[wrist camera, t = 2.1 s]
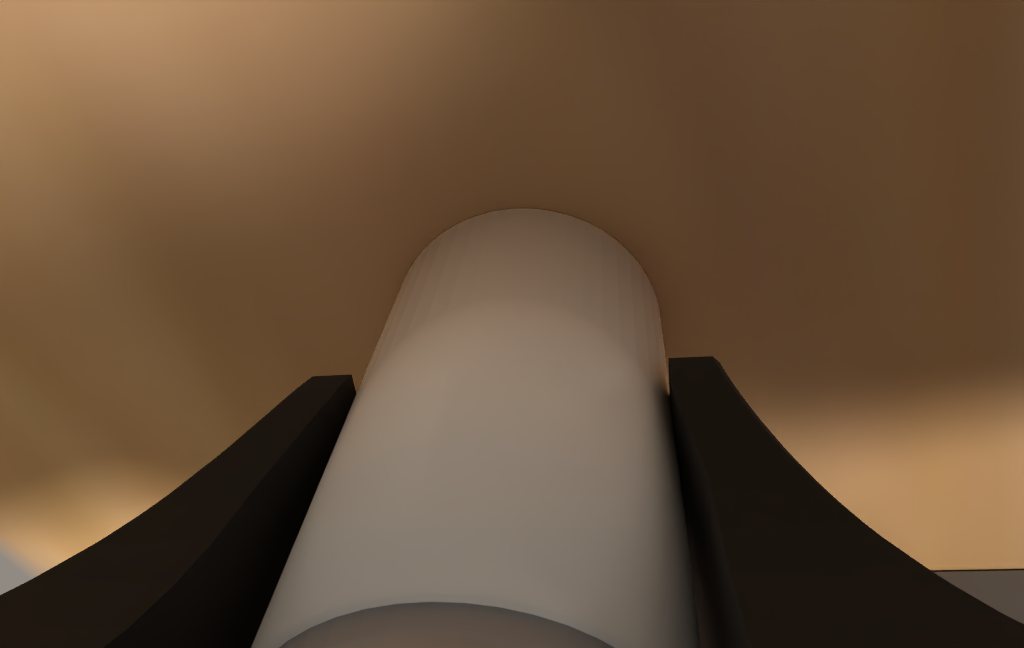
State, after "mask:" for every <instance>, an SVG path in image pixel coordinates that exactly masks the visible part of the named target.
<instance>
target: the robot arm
mask: <svg viewBox="0 0 1024 648" xmlns="http://www.w3.org/2000/svg"><path fill="white" fill-rule="evenodd" d="M669 391H670V403H671V411H672V420H673V428H674V436H675V443H676V448H677V456H678V464H679V472H680V480H681V488H682V496H683V504H684V513H685V521H686V529H687V537H688V545H689V553H690V561H691V569H692V577H693V585H694V594H695V602H696V610H697V618H698V626H699V634H700V641H701V646H702V648H1024V624H1023V623H1021V622H1019V621H1017V620H1015V619H1013V618H1010V617H1008V616H1007V615H1005V614H1003V613H1001V612H999V611H997V610H996V609H994V608H992V607H990V606H989V605H987V604H985V603H984V602H982V601H980V600H978V599H977V598H975V597H973V596H972V595H970V594H968V593H966V592H965V591H963V590H961V589H960V588H958V587H956V586H954V585H953V584H951V583H950V582H948V581H946V580H945V579H943V578H942V577H940V576H938V575H937V574H935V573H934V572H932V571H931V570H929V569H927V568H926V567H924V566H923V565H922V564H920V563H919V562H917V561H916V560H914V559H913V558H912V557H910V556H909V555H907V554H906V553H904V552H903V551H901V550H900V549H899V548H897V547H896V546H894V545H893V544H891V543H890V542H888V541H887V540H886V539H884V538H883V537H881V536H880V535H879V534H877V533H876V532H875V531H874V530H872V529H871V528H870V527H868V526H867V525H866V524H865V523H863V522H862V521H861V520H860V519H859V518H857V517H856V516H855V515H854V514H853V513H852V512H850V511H849V510H848V509H847V508H846V507H844V506H843V505H842V504H841V503H840V502H839V501H838V500H836V499H835V498H834V497H833V496H832V495H831V494H830V493H829V492H828V491H827V490H826V489H825V488H823V487H822V486H821V485H820V484H819V483H818V482H817V481H816V480H815V479H814V478H813V477H812V476H811V475H810V474H809V473H808V472H807V471H806V470H805V469H804V468H803V467H802V466H801V465H800V464H799V463H798V462H797V461H796V460H795V459H794V458H793V456H792V455H791V454H790V453H789V452H788V451H787V450H786V449H785V448H784V447H783V446H782V444H781V443H780V442H779V441H778V440H777V439H776V437H775V436H774V435H773V434H772V433H771V432H770V430H769V429H768V428H767V427H766V426H765V425H764V423H763V422H762V421H761V420H760V419H759V417H758V416H757V415H756V414H755V412H754V411H753V410H752V409H751V407H750V406H749V405H748V403H747V402H746V401H745V399H744V398H743V397H742V395H741V394H740V393H739V391H738V390H737V389H736V387H735V386H734V384H733V383H732V381H731V380H730V378H729V377H728V375H727V374H726V372H725V371H724V369H723V367H722V366H721V364H720V363H719V362H718V361H717V360H716V359H715V358H714V357H713V356H707V357H688V358H669ZM355 396H356V391H355V387H354V383H353V379H352V375H334V376H314V377H311V378H310V379H309V380H307V381H306V382H305V383H303V384H302V385H301V386H300V387H298V388H297V389H296V390H295V391H294V392H292V393H291V394H290V395H289V396H288V397H286V398H285V399H284V400H283V401H282V402H281V403H280V404H278V405H277V406H276V407H275V408H274V409H273V410H271V411H270V412H269V413H268V414H267V415H266V416H265V417H263V418H262V419H261V420H260V421H259V422H258V423H256V424H255V425H254V426H253V427H252V428H251V429H249V430H248V431H247V432H246V433H245V434H244V435H242V436H241V437H240V438H239V439H238V440H237V441H235V442H234V443H233V444H232V445H231V446H230V447H228V448H227V449H226V450H225V451H224V452H222V453H221V454H220V455H219V456H217V457H216V458H215V459H214V460H212V461H211V462H210V463H209V464H207V465H206V466H205V467H203V468H202V469H201V470H200V471H198V472H197V473H196V474H194V475H193V476H192V477H191V478H189V479H188V480H187V481H185V482H184V483H183V484H182V485H180V486H179V487H178V488H177V489H175V490H174V491H173V492H171V493H170V494H169V495H167V496H166V497H165V498H163V499H162V500H160V501H159V502H158V503H156V504H155V505H153V506H152V507H151V508H149V509H148V510H146V511H145V512H143V513H142V514H140V515H139V516H137V517H136V518H134V519H133V520H131V521H130V522H128V523H127V524H125V525H124V526H122V527H121V528H119V529H118V530H116V531H114V532H113V533H111V534H110V535H108V536H107V537H105V538H103V539H102V540H100V541H99V542H97V543H95V544H94V545H92V546H90V547H88V548H87V549H85V550H83V551H81V552H79V553H78V554H76V555H74V556H72V557H71V558H69V559H67V560H65V561H64V562H62V563H60V564H58V565H56V566H55V567H53V568H51V569H49V570H48V571H46V572H44V573H42V574H41V575H39V576H37V577H35V578H33V579H32V580H30V581H28V582H26V583H24V584H22V585H20V586H18V587H16V588H14V589H12V590H10V591H8V592H6V593H4V594H2V595H0V648H251V646H252V644H253V642H254V639H255V637H256V634H257V632H258V630H259V627H260V625H261V622H262V620H263V618H264V615H265V613H266V610H267V608H268V606H269V603H270V601H271V598H272V596H273V594H274V591H275V589H276V586H277V584H278V582H279V579H280V577H281V574H282V572H283V569H284V567H285V565H286V562H287V560H288V557H289V555H290V553H291V550H292V548H293V545H294V543H295V541H296V538H297V536H298V533H299V531H300V529H301V526H302V524H303V521H304V519H305V517H306V514H307V512H308V509H309V507H310V505H311V502H312V500H313V497H314V495H315V493H316V490H317V488H318V485H319V483H320V480H321V478H322V476H323V473H324V471H325V468H326V466H327V464H328V461H329V459H330V456H331V454H332V452H333V449H334V447H335V444H336V442H337V440H338V437H339V435H340V432H341V430H342V428H343V425H344V423H345V420H346V418H347V416H348V413H349V411H350V408H351V406H352V404H353V401H354V399H355Z"/></svg>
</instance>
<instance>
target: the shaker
mask: <svg viewBox="0 0 1024 648" xmlns="http://www.w3.org/2000/svg"><path fill="white" fill-rule="evenodd" d="M251 648H701V642H700V634H699V626H698V618H697V610H696V602H695V594H694V585H693V577H692V569H691V561H690V553H689V545H688V537H687V529H686V521H685V513H684V504H683V496H682V488H681V480H680V472H679V464H678V456H677V448H676V443H675V436H674V428H673V420H672V411H671V403H670V391H669V383H668V375H667V367H666V359H665V351H664V342H663V334H662V326H661V318H660V310H659V306H658V302H657V298H656V294H655V292H654V289H653V287H652V285H651V283H650V280H649V278H648V277H647V275H646V273H645V272H644V270H643V269H642V267H641V265H640V264H639V263H638V262H637V260H636V259H635V258H634V257H633V256H632V255H631V253H630V252H629V251H628V250H627V249H626V248H625V247H623V246H622V245H621V244H620V243H619V242H618V241H617V240H616V239H614V238H613V237H611V236H610V235H608V234H607V233H605V232H604V231H603V230H601V229H599V228H597V227H595V226H593V225H591V224H589V223H588V222H586V221H583V220H580V219H578V218H575V217H572V216H570V215H566V214H562V213H558V212H554V211H549V210H540V209H531V208H525V209H506V210H499V211H492V212H489V213H485V214H481V215H477V216H475V217H472V218H470V219H467V220H465V221H462V222H460V223H458V224H456V225H455V226H453V227H451V228H449V229H448V230H446V231H444V232H443V233H442V234H441V235H439V236H438V237H437V238H435V239H434V240H433V241H432V242H431V243H430V244H429V245H428V246H427V247H426V248H425V249H424V250H423V251H422V252H421V253H420V254H419V256H418V257H417V258H416V260H415V261H414V263H413V264H412V265H411V267H410V269H409V271H408V273H407V275H406V277H405V279H404V281H403V283H402V286H401V288H400V290H399V293H398V295H397V298H396V300H395V303H394V305H393V307H392V310H391V312H390V315H389V317H388V319H387V322H386V324H385V327H384V329H383V331H382V334H381V336H380V339H379V341H378V343H377V346H376V348H375V351H374V353H373V355H372V358H371V360H370V363H369V365H368V367H367V370H366V372H365V375H364V377H363V379H362V382H361V384H360V387H359V389H358V392H357V394H356V396H355V399H354V401H353V404H352V406H351V408H350V411H349V413H348V416H347V418H346V420H345V423H344V425H343V428H342V430H341V432H340V435H339V437H338V440H337V442H336V444H335V447H334V449H333V452H332V454H331V456H330V459H329V461H328V464H327V466H326V468H325V471H324V473H323V476H322V478H321V480H320V483H319V485H318V488H317V490H316V493H315V495H314V497H313V500H312V502H311V505H310V507H309V509H308V512H307V514H306V517H305V519H304V521H303V524H302V526H301V529H300V531H299V533H298V536H297V538H296V541H295V543H294V545H293V548H292V550H291V553H290V555H289V557H288V560H287V562H286V565H285V567H284V569H283V572H282V574H281V577H280V579H279V582H278V584H277V586H276V589H275V591H274V594H273V596H272V598H271V601H270V603H269V606H268V608H267V610H266V613H265V615H264V618H263V620H262V622H261V625H260V627H259V630H258V632H257V634H256V637H255V639H254V642H253V644H252V646H251Z"/></svg>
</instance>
